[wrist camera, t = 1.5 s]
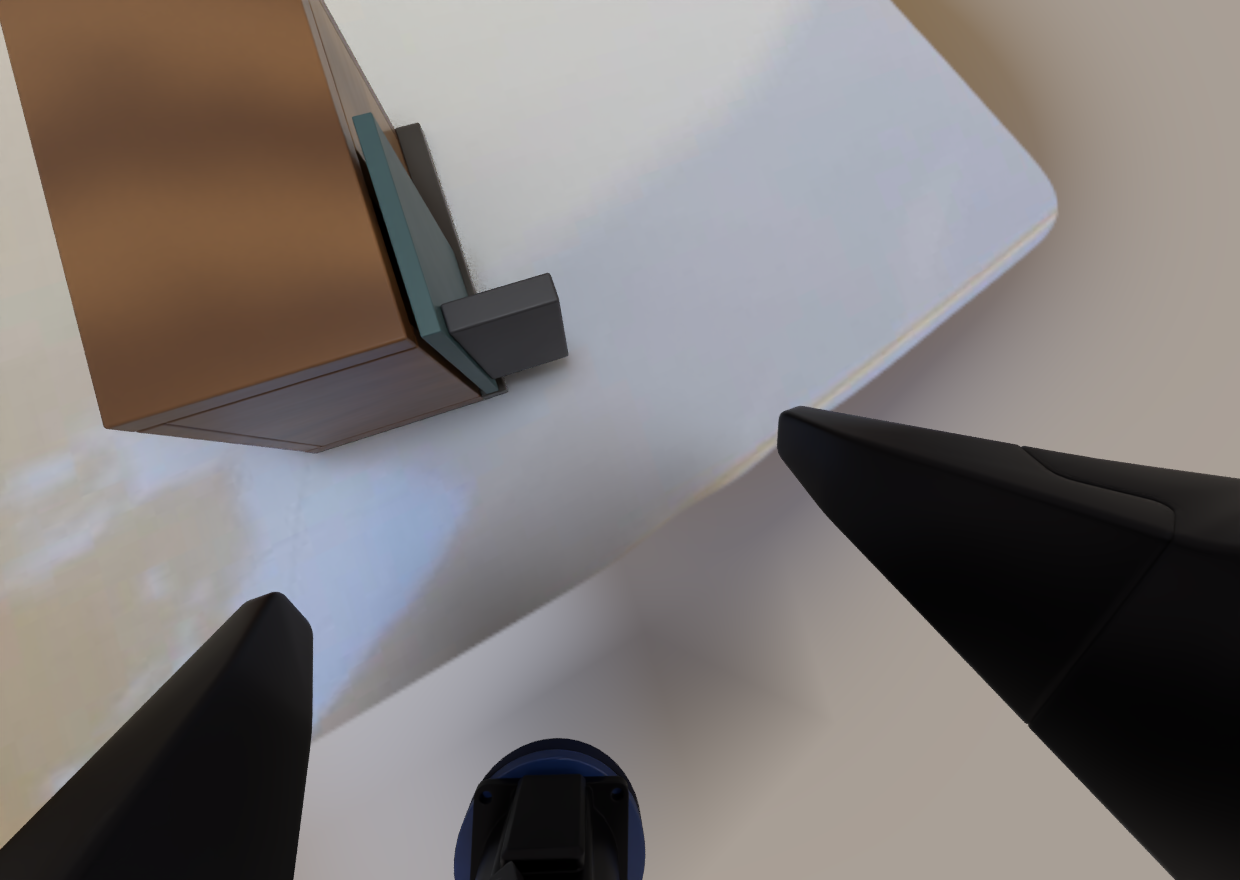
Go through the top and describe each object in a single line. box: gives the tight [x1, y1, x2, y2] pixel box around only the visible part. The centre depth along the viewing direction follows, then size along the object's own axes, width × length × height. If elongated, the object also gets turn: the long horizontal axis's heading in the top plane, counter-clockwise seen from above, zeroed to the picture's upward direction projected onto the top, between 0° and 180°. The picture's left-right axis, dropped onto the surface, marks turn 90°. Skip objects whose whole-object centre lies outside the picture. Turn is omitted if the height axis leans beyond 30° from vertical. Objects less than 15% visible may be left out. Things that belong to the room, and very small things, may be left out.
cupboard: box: [0, 0, 508, 453], centre depth 17 cm, size 14×9×9 cm, turn 19°
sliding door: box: [352, 112, 568, 394], centre depth 17 cm, size 7×4×8 cm, turn 19°
